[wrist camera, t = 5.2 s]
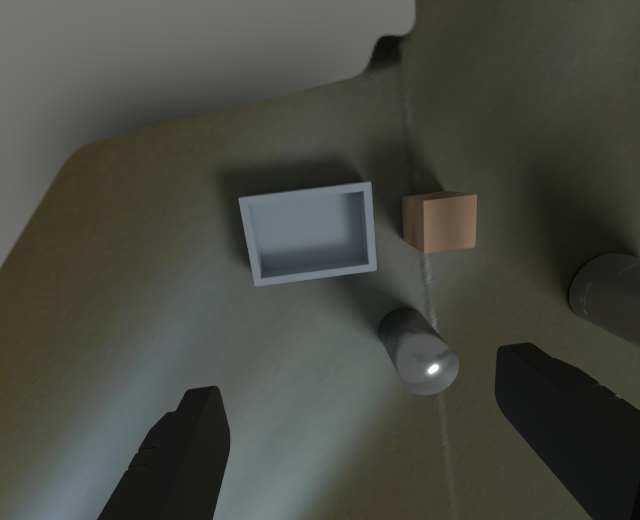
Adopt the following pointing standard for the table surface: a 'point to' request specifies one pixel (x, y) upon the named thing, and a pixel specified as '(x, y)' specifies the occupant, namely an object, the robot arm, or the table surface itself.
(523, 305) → the table surface
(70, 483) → the table surface
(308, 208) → the slate tray
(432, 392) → the grey can
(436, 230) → the walnut block
